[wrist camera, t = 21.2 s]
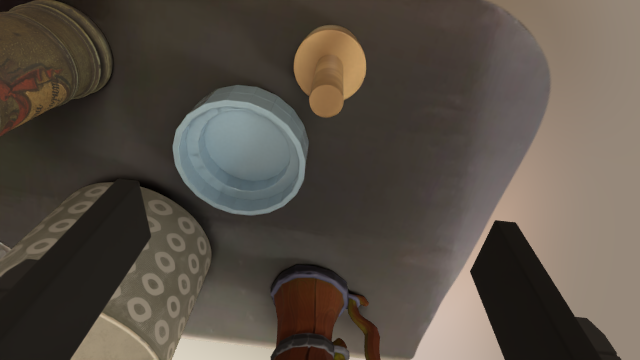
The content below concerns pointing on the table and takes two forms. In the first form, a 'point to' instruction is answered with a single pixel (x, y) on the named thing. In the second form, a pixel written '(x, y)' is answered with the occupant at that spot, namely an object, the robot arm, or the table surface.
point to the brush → (329, 68)
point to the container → (48, 59)
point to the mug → (316, 315)
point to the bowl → (242, 150)
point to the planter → (135, 278)
